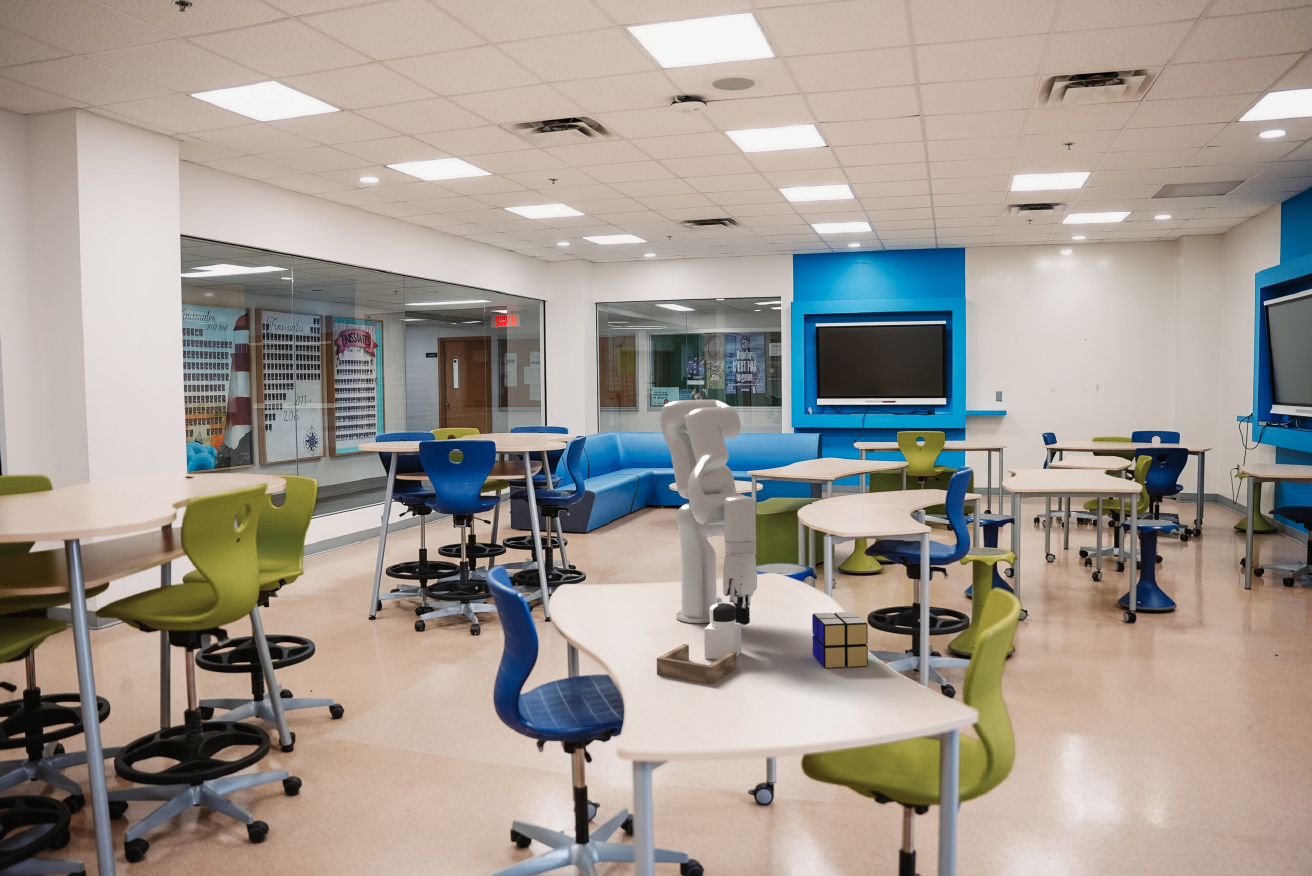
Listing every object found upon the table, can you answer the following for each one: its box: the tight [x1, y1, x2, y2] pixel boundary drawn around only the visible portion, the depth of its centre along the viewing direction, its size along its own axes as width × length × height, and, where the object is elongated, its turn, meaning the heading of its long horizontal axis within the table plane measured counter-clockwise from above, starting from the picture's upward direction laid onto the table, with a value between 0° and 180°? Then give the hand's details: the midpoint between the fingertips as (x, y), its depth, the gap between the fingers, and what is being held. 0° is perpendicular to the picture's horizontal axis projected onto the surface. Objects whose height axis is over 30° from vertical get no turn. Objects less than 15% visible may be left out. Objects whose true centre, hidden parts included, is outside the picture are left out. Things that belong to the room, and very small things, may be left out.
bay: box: [656, 643, 738, 685], centre depth 192 cm, size 12×13×4 cm
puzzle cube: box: [811, 611, 869, 669], centre depth 197 cm, size 10×10×10 cm
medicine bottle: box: [703, 602, 742, 661], centre depth 203 cm, size 7×7×12 cm
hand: (742, 623), depth 210 cm, fingers closed
